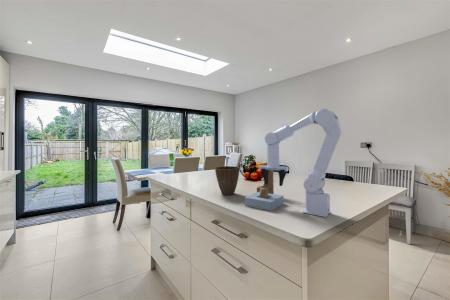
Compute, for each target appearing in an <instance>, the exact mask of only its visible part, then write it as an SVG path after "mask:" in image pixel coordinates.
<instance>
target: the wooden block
mask: <svg viewBox="0 0 450 300" xmlns="http://www.w3.org/2000/svg"><path fill="white" fill-rule="evenodd" d="M263 166H267V163H266V164H264V165H263ZM269 169H271V168H269ZM274 187H275V185H274V170H269V172H268V184H265V182H264V181H263V185H261V186H257V187H256V193H257V192H260V188H268V193H269V194H275V193H274V191H275V190H274Z"/></svg>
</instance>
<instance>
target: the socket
mask: <svg viewBox="0 0 450 300" xmlns="http://www.w3.org/2000/svg"><path fill="white" fill-rule="evenodd" d="M281 205H284V195H282V194H275V193H274V194H269V193H268V199H266V198H260V192H257V191H256V192H255V193H252V194H249V195H247V196H244V207H245V206H246V207H251V208H256V209H261V210H265V211H268V212H269V211H270V212H272V211H273V210H275V209H277V208H278V207H281Z"/></svg>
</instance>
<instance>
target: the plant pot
mask: <svg viewBox="0 0 450 300" xmlns="http://www.w3.org/2000/svg"><path fill="white" fill-rule="evenodd" d="M214 170H215V176H216V181H217V184H218V187H219V190H220V193H221V195H222V196H232V195H235V192H236V189H237V185H238V182H239V175H240V167H239V166H217V167H215V168H214Z"/></svg>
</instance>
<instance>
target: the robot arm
mask: <svg viewBox="0 0 450 300" xmlns="http://www.w3.org/2000/svg"><path fill="white" fill-rule="evenodd" d="M310 125H318V126H321V128H322V130H323V131H324V133H325V137H324V140H323V142H322V145H321V148H320V150H319V153H318V156H317V158H316V161H315V164H314V165H313V169H312V170H311V171H310V173H309V174H308V176H307V178H306V179H305V180H304V182H303V187H304V190H305V208H304V210H302V213H303V214H308V215H312V216H318V217H324V218H327V217H328V215H329V214H331V207H330V206H331V202H330V201H331V197H330V196H331V195H330V193H326V192H325V191H324V189H323V188H324V187H325V184H326V182H325V178H326V172H327V170H328V168H329V164H330V162H331V161H332V157H333V155H334V153H335V150H336V148H337V144H338V142H339V140H340V137H341V135H342V130H341V126H340V123H339V118H338V116H337V115H336V114H335V112H333V111H331V110H329V109H327V108H320V109H318V110H316V111H313V112H311V113H309V114H308V115H307V116H304V117H302V119H300V120H298V121H297V122H294V123H293V124H283V125H281V127H280V128H278V129H274V130H273V132H268V133H266V134H265V136H264V141H265V143H266V146H267V147H266V150H267V151H266V153H267V154H266V164H267V166H264V165H259V166H258V169H259V170H260V171H259V172H260V174H261V176H262V178H263V183H264V182H265V184H268V172H269V170H273V171H277V172H278V179H279V187H282V186H283V185H284V180H285V178H286V175H287V173H288V171H290V169H289V166H285V165H280V143H281V142H283V141H284V140H286V139H288V138H290V137H292V136H293V137H294V134H295V132H296V131H299V130H302V129H303V128H305V127H308V126H310ZM269 168H271V169H269Z"/></svg>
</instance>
